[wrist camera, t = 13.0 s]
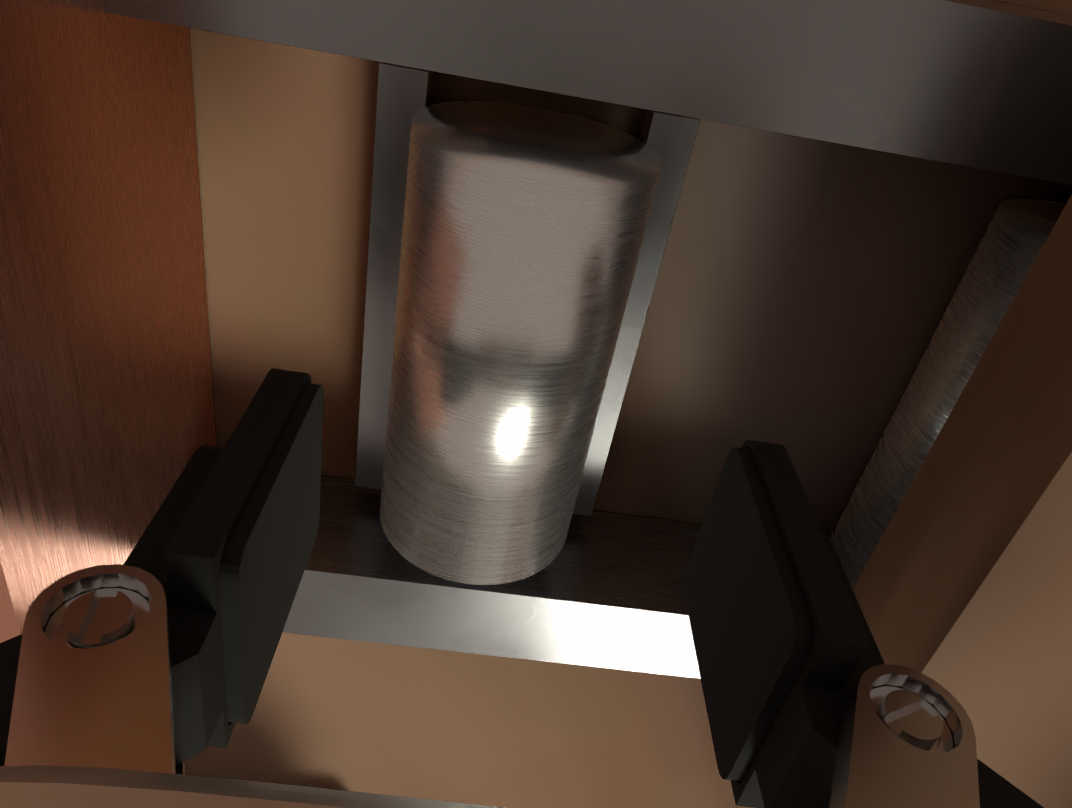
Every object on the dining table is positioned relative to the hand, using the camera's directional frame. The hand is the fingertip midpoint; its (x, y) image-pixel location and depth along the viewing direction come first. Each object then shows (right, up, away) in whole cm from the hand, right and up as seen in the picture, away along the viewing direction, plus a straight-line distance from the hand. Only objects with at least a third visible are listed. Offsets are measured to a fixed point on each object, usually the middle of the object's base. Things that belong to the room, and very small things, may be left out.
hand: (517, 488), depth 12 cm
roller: (0, +3, +4) cm, 5 cm away
